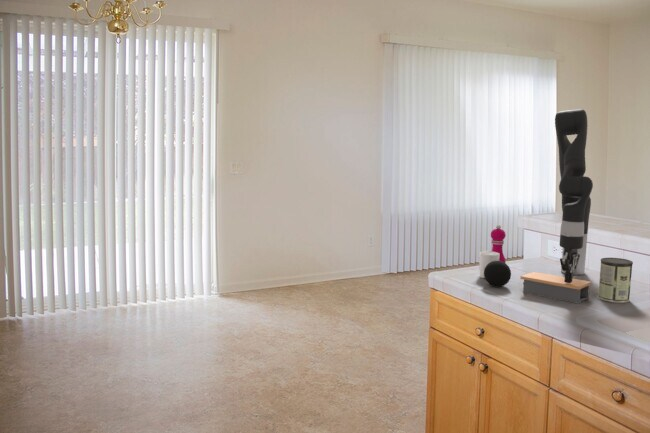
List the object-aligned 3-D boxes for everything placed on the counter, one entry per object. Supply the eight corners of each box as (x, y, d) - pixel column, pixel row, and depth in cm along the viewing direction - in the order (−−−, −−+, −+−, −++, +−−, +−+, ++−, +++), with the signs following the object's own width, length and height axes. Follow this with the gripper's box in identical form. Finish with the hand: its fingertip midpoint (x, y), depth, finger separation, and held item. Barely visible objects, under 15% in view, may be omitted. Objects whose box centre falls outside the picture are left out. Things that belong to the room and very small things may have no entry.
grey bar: (524, 285, 226) (525, 279, 225) (587, 297, 210) (588, 291, 210) (521, 286, 224) (522, 280, 223) (585, 299, 209) (586, 292, 208)
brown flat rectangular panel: (533, 274, 227) (533, 271, 227) (590, 284, 213) (591, 281, 213) (520, 278, 218) (520, 276, 218) (579, 289, 204) (579, 286, 204)
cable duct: (534, 287, 227) (535, 274, 226) (588, 297, 214) (589, 284, 213) (523, 292, 220) (524, 279, 219) (578, 303, 207) (579, 289, 206)
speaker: (495, 281, 235) (497, 257, 233) (515, 287, 226) (517, 262, 225) (477, 284, 229) (478, 259, 228) (497, 291, 221) (498, 264, 219)
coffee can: (608, 293, 220) (611, 256, 218) (635, 300, 211) (639, 261, 209) (591, 297, 215) (594, 259, 212) (618, 304, 206) (622, 264, 204)
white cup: (494, 274, 246) (496, 251, 244) (500, 279, 238) (502, 255, 237) (475, 274, 246) (477, 251, 244) (481, 279, 238) (482, 255, 236)
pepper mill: (505, 274, 247) (508, 226, 244) (487, 273, 248) (490, 226, 245) (504, 270, 254) (506, 224, 251) (486, 269, 255) (489, 223, 252)
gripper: (568, 230, 213) (564, 277, 216) (553, 234, 203) (550, 283, 206) (589, 232, 208) (585, 281, 211) (576, 237, 198) (572, 288, 201)
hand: (568, 282), depth 208 cm, fingers closed
